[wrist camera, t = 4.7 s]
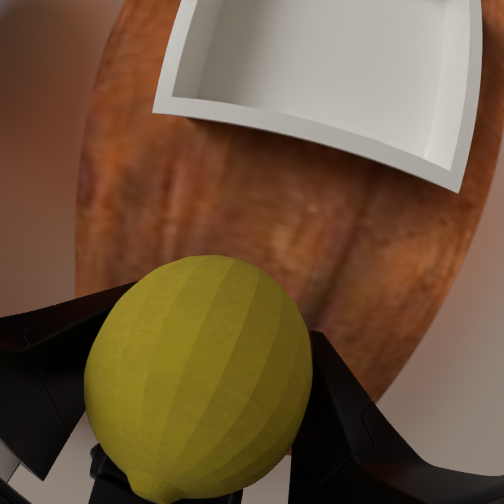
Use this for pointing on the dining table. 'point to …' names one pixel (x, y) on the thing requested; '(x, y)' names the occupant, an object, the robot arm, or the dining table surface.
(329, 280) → the dining table surface
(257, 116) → the box
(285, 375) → the lemon
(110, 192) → the dining table surface
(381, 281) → the dining table surface
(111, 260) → the dining table surface
